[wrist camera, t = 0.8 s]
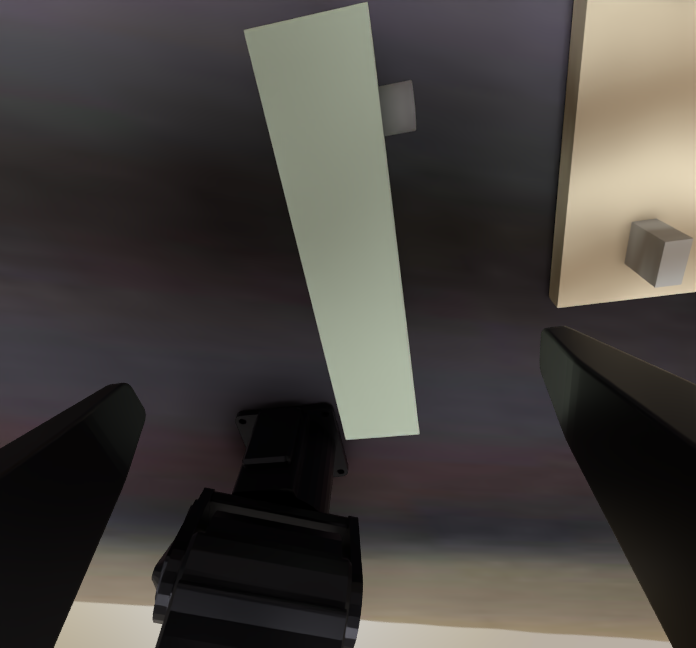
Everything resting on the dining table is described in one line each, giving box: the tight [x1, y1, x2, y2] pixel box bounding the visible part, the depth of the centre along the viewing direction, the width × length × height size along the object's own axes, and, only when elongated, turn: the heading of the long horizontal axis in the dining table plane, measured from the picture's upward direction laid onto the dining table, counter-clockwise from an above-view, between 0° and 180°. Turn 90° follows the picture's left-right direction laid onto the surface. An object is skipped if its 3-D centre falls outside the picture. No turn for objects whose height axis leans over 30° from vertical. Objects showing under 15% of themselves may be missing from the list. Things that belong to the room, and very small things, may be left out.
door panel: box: [244, 2, 419, 440], centre depth 17 cm, size 14×4×8 cm, turn 10°
